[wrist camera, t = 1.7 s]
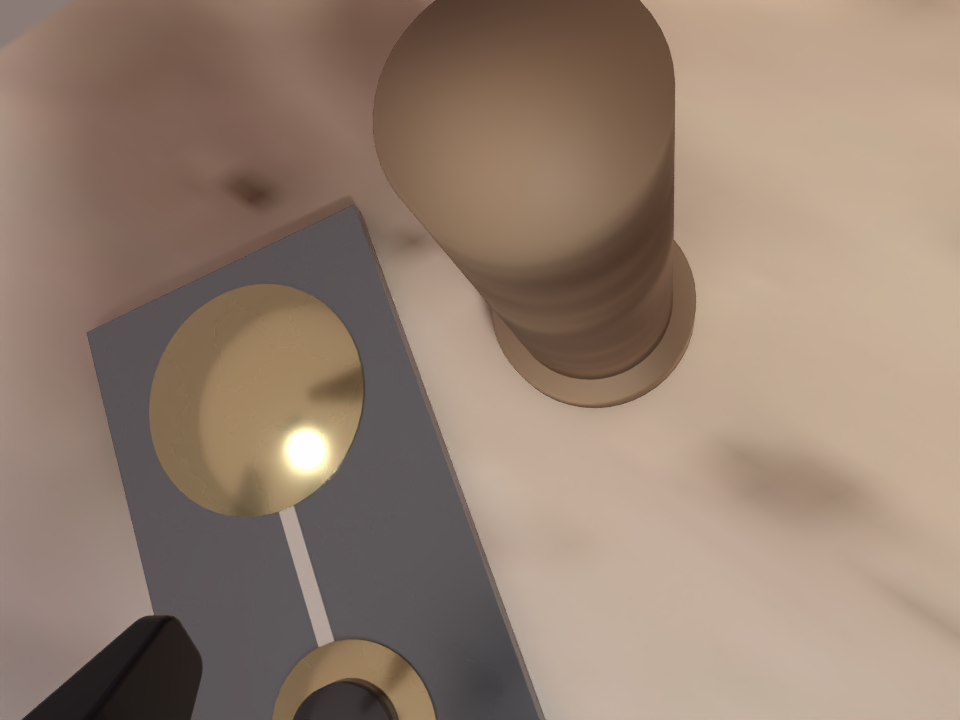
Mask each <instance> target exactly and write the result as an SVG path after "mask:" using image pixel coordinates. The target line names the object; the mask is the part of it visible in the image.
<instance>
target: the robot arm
mask: <svg viewBox="0 0 960 720" xmlns="http://www.w3.org/2000/svg"><path fill="white" fill-rule="evenodd" d="M202 671H203V663H202V657H201V654H200V652H199V651H198V649H197V647H196V646H195V644H194V643H193V641H192V639H191V638H190V636H189V635H188V633H187V631H186V630H185V628H184V626H183V625H182V623H181V622H180V620H179V619H178V618H176V617H175V616H172V615H153V616H145V617H142V618H140V619H138V620H137V621H136V622H134V623H133V624H132V625H131V626H130V627H128V628H127V629H126V630H125V631H124V632H123V633H122V634H120V635H119V636H118V637H117V638H116V639H115V640H113V641H112V642H111V643H110V644H109V645H108V646H106V647H105V648H104V649H103V650H102V651H101V652H99V653H98V654H97V655H96V656H95V657H94V658H93V659H91V660H90V661H89V662H88V663H87V664H86V665H84V666H83V667H82V668H81V669H80V670H79V671H77V672H76V673H75V674H74V675H73V676H72V677H70V678H69V679H68V680H67V681H66V682H65V683H64V684H62V685H61V686H60V687H59V688H58V689H57V690H55V691H54V692H53V693H52V694H51V695H50V696H48V697H47V698H46V699H45V700H44V701H43V702H41V703H40V704H39V705H38V706H37V707H36V708H35V709H33V710H32V711H31V712H30V713H29V714H28V715H26V716H25V717H24V718H23V719H22V720H191V717H192V713H193V710H194V706H195V702H196V698H197V694H198V690H199V686H200V682H201V678H202Z"/></svg>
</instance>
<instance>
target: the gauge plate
mask: <svg viewBox="0 0 960 720" xmlns="http://www.w3.org/2000/svg"><path fill="white" fill-rule="evenodd" d="M87 336H88V340H89V344H90V348H91V353H92V357H93V361H94V365H95V369H96V373H97V378H98V382H99V386H100V390H101V394H102V398H103V403H104V407H105V411H106V415H107V419H108V424H109V428H110V432H111V436H112V440H113V444H114V449H115V453H116V457H117V461H118V465H119V469H120V474H121V478H122V482H123V486H124V490H125V495H126V499H127V503H128V507H129V511H130V515H131V520H132V524H133V528H134V532H135V536H136V540H137V545H138V549H139V553H140V557H141V561H142V566H143V570H144V574H145V578H146V582H147V586H148V591H149V595H150V599H151V603H152V607H153V612H154V615H172V616H175V617H176V618H178V619H179V620H180V622H181V623H182V625H183V626H184V628H185V630H186V631H187V633H188V635H189V636H190V638H191V639H192V641H193V643H194V644H195V646H196V647H197V649H198V651H199V652H200V654H201V657H202V663H203V671H202V678H201V682H200V686H199V690H198V694H197V698H196V702H195V706H194V710H193V713H192V717H191V720H545V718H544V715H543V712H542V710H541V707H540V704H539V701H538V699H537V696H536V693H535V690H534V688H533V685H532V682H531V679H530V677H529V674H528V671H527V668H526V666H525V663H524V660H523V657H522V655H521V652H520V649H519V646H518V644H517V641H516V638H515V635H514V633H513V630H512V627H511V624H510V622H509V619H508V616H507V613H506V611H505V608H504V605H503V602H502V600H501V597H500V594H499V591H498V589H497V586H496V583H495V580H494V578H493V575H492V572H491V569H490V566H489V564H488V561H487V558H486V555H485V553H484V550H483V547H482V544H481V542H480V539H479V536H478V533H477V531H476V528H475V525H474V522H473V520H472V517H471V514H470V511H469V509H468V506H467V503H466V500H465V498H464V495H463V492H462V489H461V487H460V484H459V481H458V478H457V476H456V473H455V470H454V467H453V465H452V462H451V459H450V456H449V454H448V451H447V448H446V445H445V443H444V440H443V437H442V434H441V432H440V429H439V426H438V423H437V421H436V418H435V415H434V412H433V410H432V407H431V404H430V401H429V399H428V396H427V393H426V390H425V388H424V385H423V382H422V379H421V377H420V374H419V371H418V368H417V366H416V363H415V360H414V357H413V355H412V352H411V349H410V346H409V344H408V341H407V338H406V335H405V333H404V330H403V327H402V324H401V322H400V319H399V316H398V313H397V311H396V308H395V305H394V302H393V300H392V297H391V294H390V291H389V289H388V286H387V283H386V280H385V278H384V275H383V272H382V269H381V267H380V264H379V261H378V258H377V256H376V253H375V250H374V247H373V245H372V242H371V239H370V236H369V234H368V231H367V228H366V225H365V223H364V220H363V217H362V214H361V212H360V211H359V210H358V209H357V208H356V207H355V206H354V205H353V206H351V207H348V208H346V209H344V210H342V211H340V212H338V213H336V214H334V215H332V216H330V217H327V218H325V219H323V220H321V221H319V222H317V223H315V224H313V225H311V226H309V227H307V228H304V229H302V230H300V231H298V232H296V233H294V234H292V235H290V236H288V237H286V238H284V239H281V240H279V241H277V242H275V243H273V244H271V245H269V246H267V247H265V248H263V249H261V250H258V251H256V252H254V253H252V254H250V255H248V256H246V257H244V258H242V259H240V260H238V261H235V262H233V263H231V264H229V265H227V266H225V267H223V268H221V269H219V270H217V271H215V272H212V273H210V274H208V275H206V276H204V277H202V278H200V279H198V280H196V281H194V282H192V283H189V284H187V285H185V286H183V287H181V288H179V289H177V290H175V291H173V292H171V293H169V294H166V295H164V296H162V297H160V298H158V299H156V300H154V301H152V302H150V303H148V304H146V305H143V306H141V307H139V308H137V309H135V310H133V311H131V312H129V313H127V314H125V315H123V316H120V317H118V318H116V319H114V320H112V321H110V322H108V323H106V324H104V325H102V326H100V327H97V328H95V329H93V330H91V331H89V332H87Z"/></svg>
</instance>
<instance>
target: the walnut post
mask: <svg viewBox="0 0 960 720" xmlns="http://www.w3.org/2000/svg"><path fill="white" fill-rule="evenodd" d="M373 134H374V140H375V147H376V151H377V155H378V158H379V161H380V165H381V167H382V169H383V171H384V173H385V176H386V178H387V180H388V182H389V183H390V185H391V186H392V188H393V189H394V191H395V192H396V194H397V195H398V197H399V198H400V199H401V200H402V201H403V203H404V204H405V205H406V206H407V207H408V208H409V210H410V211H411V212H412V213H413V214H414V216H415V217H416V218H417V219H418V220H419V222H420V223H421V224H422V225H423V226H424V228H425V229H426V230H427V231H428V232H429V233H430V235H431V236H432V237H433V238H434V239H435V241H436V242H437V243H438V244H439V245H440V247H441V248H442V249H443V250H444V251H445V253H446V254H447V255H448V256H449V257H450V258H451V260H452V261H453V262H454V263H455V264H456V266H457V267H458V268H459V269H460V270H461V272H462V273H463V274H464V275H465V276H466V278H467V279H468V280H469V281H470V282H471V284H472V285H473V286H474V287H475V288H476V289H477V291H478V292H479V293H480V294H481V295H482V297H483V298H484V299H485V300H486V301H487V303H488V304H489V305H490V306H491V307H492V320H493V326H494V331H495V334H496V337H497V340H498V343H499V345H500V347H501V349H502V351H503V353H504V354H505V356H506V358H507V359H508V361H509V362H510V364H511V365H512V366H513V367H514V368H515V369H516V370H517V372H518V373H519V374H520V375H521V376H522V377H523V378H524V379H525V380H526V381H528V382H529V383H530V384H531V385H532V386H533V387H534V388H536V389H537V390H539V391H540V392H542V393H543V394H545V395H546V396H548V397H550V398H552V399H555V400H557V401H559V402H562V403H565V404H568V405H573V406H578V407H586V408H602V407H611V406H616V405H621V404H624V403H627V402H630V401H633V400H635V399H637V398H639V397H641V396H643V395H645V394H647V393H648V392H650V391H651V390H653V389H654V388H656V387H657V386H658V385H659V384H660V383H662V382H663V381H664V380H665V379H666V378H667V377H668V376H669V375H670V374H671V372H672V371H673V370H674V369H675V368H676V366H677V365H678V363H679V362H680V360H681V359H682V357H683V355H684V353H685V351H686V349H687V347H688V344H689V341H690V338H691V335H692V331H693V325H694V319H695V310H696V292H695V283H694V279H693V275H692V271H691V268H690V266H689V264H688V261H687V259H686V257H685V255H684V254H683V252H682V250H681V248H680V247H679V246H678V244H677V243H676V242H675V241H674V141H675V77H674V68H673V62H672V58H671V54H670V50H669V46H668V44H667V42H666V39H665V37H664V35H663V32H662V30H661V28H660V27H659V25H658V23H657V22H656V20H655V19H654V17H653V16H652V14H651V13H650V12H649V11H648V9H647V8H646V7H645V6H644V5H643V4H642V2H641V1H640V0H435V1H434V2H433V3H432V4H430V5H429V6H428V7H427V8H426V9H425V10H424V11H423V12H422V13H421V14H420V15H418V17H417V18H416V19H415V20H414V21H413V22H412V23H411V25H410V26H409V27H408V28H407V29H406V30H405V32H404V33H403V35H402V36H401V37H400V39H399V40H398V42H397V43H396V45H395V46H394V48H393V50H392V52H391V54H390V56H389V58H388V59H387V61H386V64H385V66H384V69H383V71H382V74H381V76H380V79H379V83H378V87H377V91H376V95H375V101H374V109H373Z"/></svg>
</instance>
